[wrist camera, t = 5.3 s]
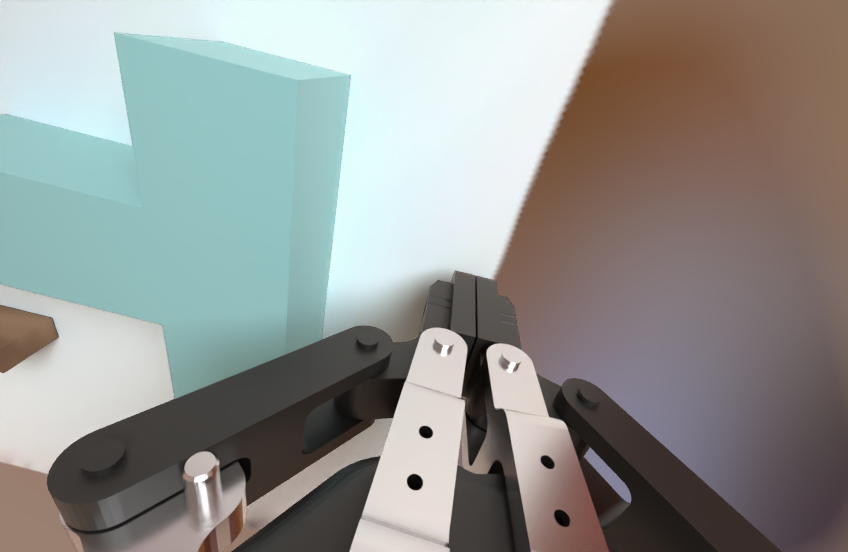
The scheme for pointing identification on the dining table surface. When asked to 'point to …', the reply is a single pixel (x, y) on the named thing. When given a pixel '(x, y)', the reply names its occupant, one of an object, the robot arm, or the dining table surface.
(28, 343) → the bay
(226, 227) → the T-block
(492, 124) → the dining table surface
